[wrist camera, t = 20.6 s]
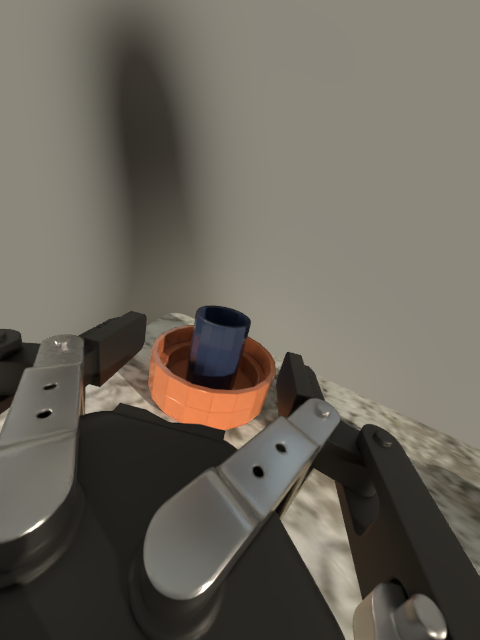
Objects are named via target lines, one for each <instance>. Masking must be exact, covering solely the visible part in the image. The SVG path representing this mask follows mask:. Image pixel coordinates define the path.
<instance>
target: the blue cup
mask: <svg viewBox="0 0 480 640" xmlns="http://www.w3.org/2000/svg"><path fill="white" fill-rule="evenodd" d="M250 324H251V321H250V319H249V318H248V317H247V316H246V315H244V314H243V313H241V312H239V311H236V310H234V309H230V308H227V307H221V306H203V307H200V308H199V309H198V310H197V311H196V316H195V322H194V328H193V334H192V339H191V345H190V351H189V357H188V362H187V368H186V374H185V375H186V377H185V380H186V381H188V382H190V383H192V384H196V385H199V386H203V387H207V388H211V389H219V390H232V389H233V386H234V383H235V379H236V376H237V372H238V368H239V365H240V361H241V357H242V354H243V350H244V347H245V343H246V339H247V336H248V332H249V328H250Z"/></svg>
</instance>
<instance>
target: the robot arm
mask: <svg viewBox="0 0 480 640" xmlns="http://www.w3.org/2000/svg"><path fill="white" fill-rule="evenodd" d="M145 332H146V315H145V314H140V313H137V312H133V311H130V312H129V313H127V314H125V315H123V316H122V317H117V318H113V319H109V320H107V321H106V322H103V323H102V324H99V325H98V326H96V327H94V328H92V329H90V330H88V331H86V332H84V333H82V334H81V335H79V336H76V335H57V336H53V337H49V338H47V339H45V340H44V341H42V343H41V344H37V343H22V339H21V334H20V333H19V332H18V331H15V330H11V329H0V414H1V413H3V412H4V411H5V410H7V409H8V408H10V409H9V412H8V414H7V417H6V420H5V422H4V425H3V428H2V430H1V433H0V640H345V638H344V635H343V633H342V631H341V629H340V627H339V625H338V623H337V621H336V619H335V617H334V615H333V613H332V611H331V610H330V608H329V606H328V604H327V603H326V601H325V599H324V597H323V595H322V594H321V592H320V590H319V588H318V586H317V585H316V583H315V581H314V579H313V578H312V576H311V574H310V572H309V570H308V569H307V567H306V565H305V563H304V561H303V560H302V558H301V556H300V554H299V552H298V551H297V549H296V547H295V545H294V544H293V542H292V540H291V538H290V536H289V535H288V533H287V531H286V529H285V527H284V526H283V524H282V522H281V520H282V518H283V517H284V515H285V513H286V512H287V510H288V508H289V507H290V505H291V503H292V502H293V500H294V499H295V497H296V496H297V494H298V493H299V491H300V490H301V488H302V487H303V485H304V484H305V482H306V481H307V479H308V478H309V477H310V475H311V474H312V472H313V471H314V469H316V470H318V471H320V472H321V473H323V474H325V475H327V476H328V477H330V478H332V479H333V480H335V484H336V489H337V493H338V497H339V501H340V506H341V510H342V514H343V519H344V523H345V527H346V531H347V536H348V540H349V544H350V549H351V553H352V557H353V561H354V566H355V570H356V574H357V579H358V583H359V587H360V591H361V596H362V600H363V601H362V602H361V603H360V604H359V605H358V606H357V608H356V609H355V612H354V616H353V634H354V640H480V577H479V575H478V573H477V572H476V570H475V568H474V567H473V565H472V563H471V562H470V560H469V558H468V557H467V555H466V553H465V552H464V550H463V548H462V547H461V545H460V543H459V542H458V540H457V538H456V536H455V535H454V533H453V531H452V530H451V528H450V526H449V525H448V523H447V521H446V520H445V518H444V516H443V515H442V513H441V511H440V510H439V508H438V506H437V505H436V503H435V501H434V500H433V498H432V496H431V495H430V493H429V491H428V490H427V488H426V486H425V485H424V483H423V481H422V480H421V478H420V476H419V475H418V473H417V471H416V470H415V468H414V466H413V465H412V463H411V461H410V460H409V458H408V456H407V455H406V453H405V451H404V450H403V448H402V446H401V445H400V443H399V442H398V441H397V439H396V438H395V437H393V436H392V435H391V434H390V433H389V432H387V431H386V430H384V429H382V428H380V427H378V426H376V425H372V424H366V425H364V426H363V427H362V429H361V431H359V430H357V429H355V428H353V427H351V426H349V425H347V424H345V423H343V422H341V421H340V415H339V413H338V412H337V410H336V409H335V408H334V407H333V406H332V405H330V404H329V403H327V402H325V400H324V397H323V394H322V392H321V389H320V386H319V384H318V381H317V378H316V375H315V373H314V372H313V371H312V369H311V368H310V367H309V366H306V365H304V363H303V359H302V356H301V355H298V354H294V353H290V352H287V353H286V355H285V358H284V361H283V363H282V366H281V369H280V372H279V375H278V378H277V384H276V387H277V400H278V413H279V417H278V418H276V419H275V420H274V421H273V422H272V423H270V424H269V425H268V426H267V427H265V428H264V429H263V430H262V431H261V432H259V433H258V434H257V435H256V436H255V437H253V438H252V439H251V440H250V441H248V442H247V443H246V444H245V445H244V446H242V447H241V448H240V449H239V450H237V449H236V448H235V447H234V446H233V445H231V444H230V443H228V442H227V441H225V440H223V439H224V434H225V431H224V430H221V429H217V428H213V427H209V426H205V425H202V424H191V423H171V422H168V421H166V420H164V419H162V418H160V417H158V416H156V415H155V414H153V413H151V412H149V411H147V410H145V409H141V408H138V407H134V406H130V405H126V404H122V403H120V404H119V405H118V406H117V407H116V408H115V409H114V410H113V411H99V412H93V413H88V414H85V395H86V391H85V387H86V386H87V385H88V384H91V385H94V386H98V387H101V386H102V385H103V384H104V383H105V382H106V381H107V380H108V379H109V378H111V377H112V376H113V375H114V374H115V373H116V372H117V371H118V370H119V369H120V368H122V367H123V366H124V365H125V364H126V363H127V362H128V361H129V360H130V359H131V358H133V357H134V356H135V355H136V354H137V353H138V352H139V351H140V350H141V349H142V347H143V345H144V342H145Z"/></svg>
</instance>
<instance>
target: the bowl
mask: <svg viewBox="0 0 480 640" xmlns="http://www.w3.org/2000/svg"><path fill="white" fill-rule="evenodd" d="M193 328H194V325H186V326H181V327H175V328H173V329H171V330H168V331H166V332H164V333H162V334H161V335H160V336H159V337H158V338H157V339H156V340H155V341H154V344H153V348H152V351H151V360H150V370H149V380H148V386H149V390H150V393H151V397H152V399H153V400H154V402H155V403H156V404H157V405H158V406H159V408H160V409H161V410H162V411H163V412H164V413H165V414H167V415H169V416H170V417H172V418H174V419H175V420H177V421H179V422H180V423H191V424H202V425H205V426H209V427H213V428H217V429H221V430H227V429H231V428H234V427H238V426H241V425H244V424H247V423H248V422H250V421H251V420H252V419H254V418H255V417H256V416H258V415H259V414H260V412H261V410H262V408H263V406H264V404H265V402H266V400H267V397H268V394H269V391H270V388H271V385H272V383H273V380H274V377H275V374H276V367H275V361H274V359H273V358H272V356H271V354H270V353H269V352H268V351H267V350H266V349H265V348H264V347H263V346H262V345H261V344H260V343H258V342H256V341H255V340H253V339H251V338H250V337H248V336H247V339H246V343H245V347H244V350H243V354H242V357H241V361H240V365H239V368H238V372H237V376H236V379H235V383H234V386H233V389H232V390H219V389H211V388H207V387H203V386H199V385H196V384H192V383H190V382H188V381H186V380H185V377H186V375H185V374H186V368H187V362H188V357H189V351H190V345H191V339H192V334H193Z"/></svg>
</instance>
